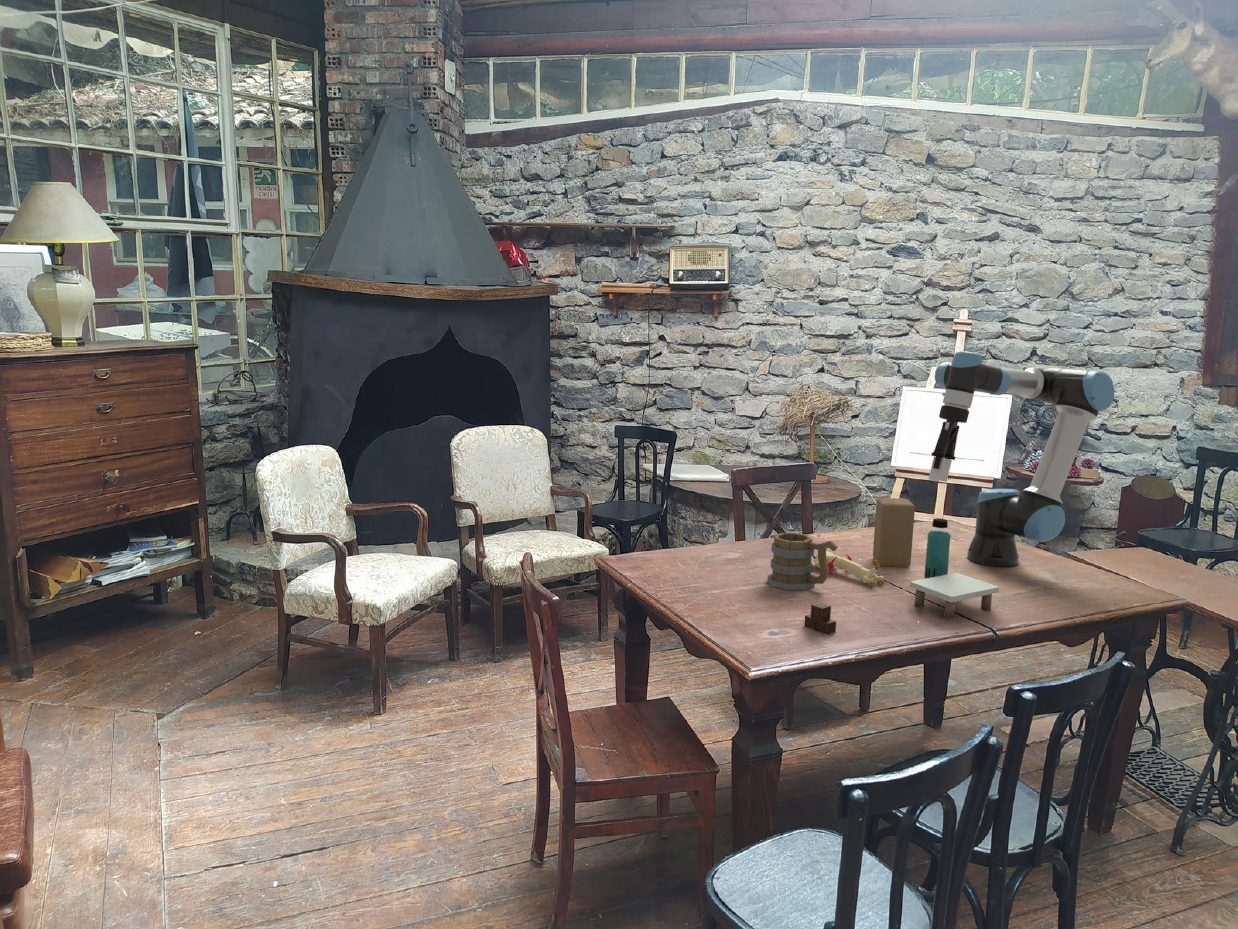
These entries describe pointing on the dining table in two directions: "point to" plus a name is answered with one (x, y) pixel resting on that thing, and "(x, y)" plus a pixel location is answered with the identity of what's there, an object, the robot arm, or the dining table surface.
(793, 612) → the dining table surface
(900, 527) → the wooden block
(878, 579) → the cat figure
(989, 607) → the peg shelf
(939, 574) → the beverage bottle
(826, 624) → the stack of crates
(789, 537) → the tankard
